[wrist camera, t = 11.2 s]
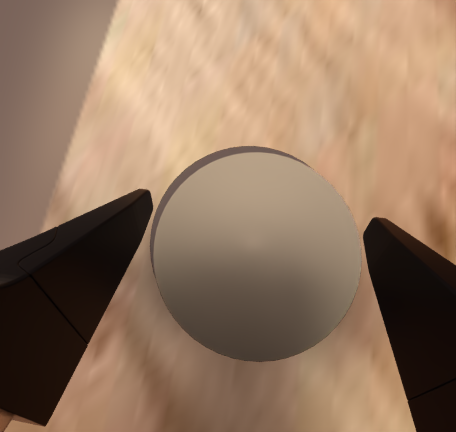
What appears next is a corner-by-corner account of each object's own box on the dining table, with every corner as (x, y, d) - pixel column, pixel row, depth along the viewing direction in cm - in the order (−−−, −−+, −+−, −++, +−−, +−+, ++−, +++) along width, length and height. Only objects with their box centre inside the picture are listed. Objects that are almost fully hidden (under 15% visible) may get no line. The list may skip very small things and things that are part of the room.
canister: (291, 229, 17) (396, 207, 5) (261, 287, 17) (303, 404, 5) (233, 200, 18) (211, 120, 6) (204, 256, 17) (117, 295, 5)
